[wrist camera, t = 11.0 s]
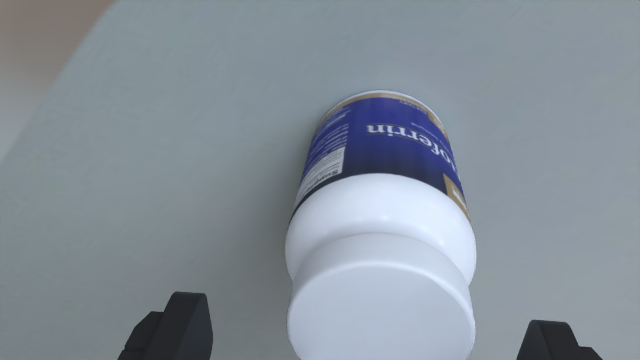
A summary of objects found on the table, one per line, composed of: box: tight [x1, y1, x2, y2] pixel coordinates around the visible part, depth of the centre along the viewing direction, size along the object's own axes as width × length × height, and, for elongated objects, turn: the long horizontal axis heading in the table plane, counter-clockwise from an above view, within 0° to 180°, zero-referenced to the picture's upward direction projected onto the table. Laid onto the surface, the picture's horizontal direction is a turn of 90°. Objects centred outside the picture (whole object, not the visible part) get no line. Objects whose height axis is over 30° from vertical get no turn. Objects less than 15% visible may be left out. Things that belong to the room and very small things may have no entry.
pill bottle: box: [285, 90, 476, 360], centre depth 16 cm, size 6×6×10 cm
